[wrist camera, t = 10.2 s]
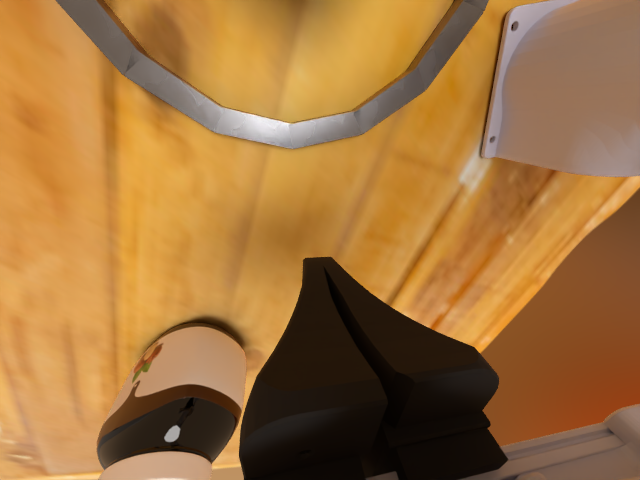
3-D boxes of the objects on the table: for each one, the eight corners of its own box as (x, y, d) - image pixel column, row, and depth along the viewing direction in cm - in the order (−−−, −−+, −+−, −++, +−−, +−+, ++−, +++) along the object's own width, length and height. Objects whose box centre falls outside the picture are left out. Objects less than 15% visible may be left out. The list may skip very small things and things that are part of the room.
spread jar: (212, 302, 23) (167, 455, 13) (277, 358, 28) (280, 494, 18) (113, 357, 24) (0, 538, 14) (194, 400, 30) (156, 550, 20)
